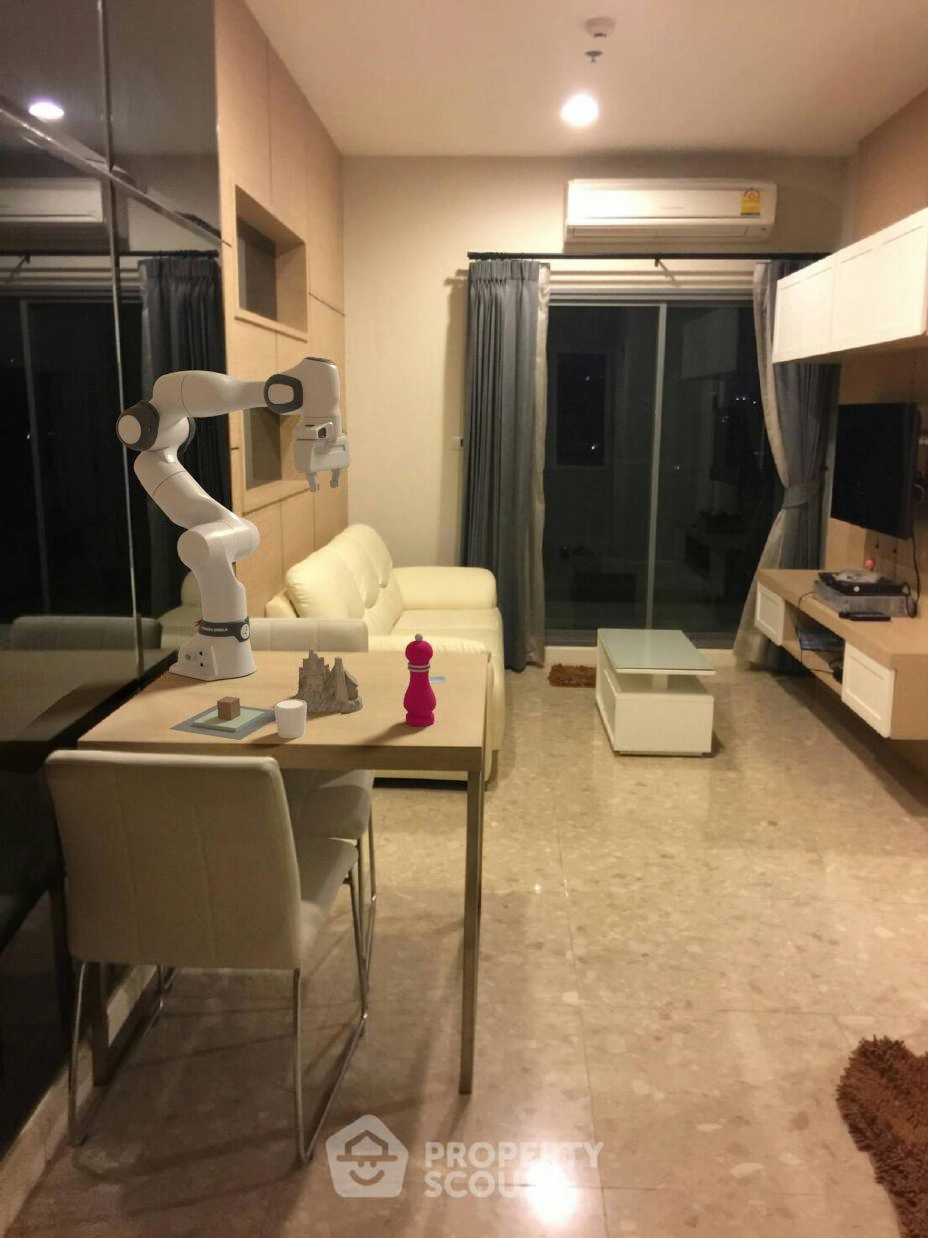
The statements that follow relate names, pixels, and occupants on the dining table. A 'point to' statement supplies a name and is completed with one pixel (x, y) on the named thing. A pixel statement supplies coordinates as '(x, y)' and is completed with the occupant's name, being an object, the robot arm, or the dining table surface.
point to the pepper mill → (419, 684)
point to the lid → (229, 716)
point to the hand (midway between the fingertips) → (324, 489)
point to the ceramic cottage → (327, 686)
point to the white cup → (291, 718)
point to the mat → (237, 735)
